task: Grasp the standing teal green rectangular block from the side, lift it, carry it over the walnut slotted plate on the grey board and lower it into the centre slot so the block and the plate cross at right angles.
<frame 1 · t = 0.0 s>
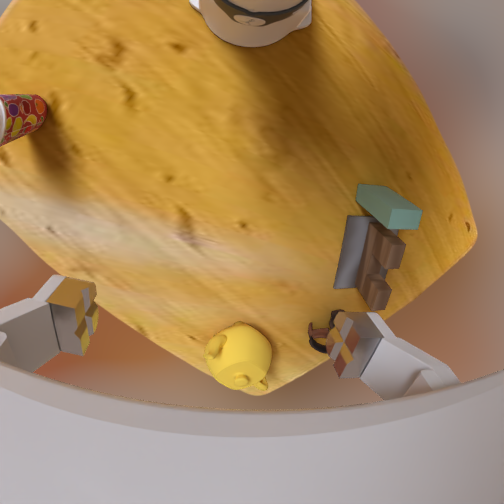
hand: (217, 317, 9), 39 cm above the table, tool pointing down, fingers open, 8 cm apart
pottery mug: (328, 319, 64), on the table
smoothie: (36, 112, 35), on the table
teapot: (234, 336, 63), on the table
teal green rectangular block: (371, 193, 49), on the table
walnut slotted plate: (367, 253, 56), on the table
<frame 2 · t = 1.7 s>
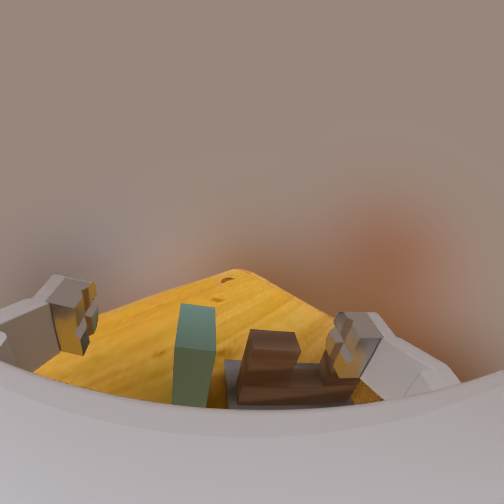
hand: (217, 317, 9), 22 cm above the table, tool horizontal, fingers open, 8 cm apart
teal green rectangular block: (187, 406, 28), on the table
walnut slotted plate: (291, 398, 32), on the table
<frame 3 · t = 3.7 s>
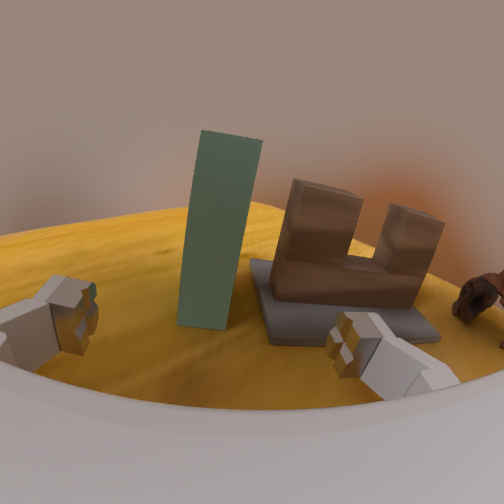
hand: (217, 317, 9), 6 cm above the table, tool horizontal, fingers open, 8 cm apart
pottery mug: (476, 328, 25), on the table
teal green rectangular block: (201, 302, 21), on the table
walnut slotted plate: (343, 303, 25), on the table
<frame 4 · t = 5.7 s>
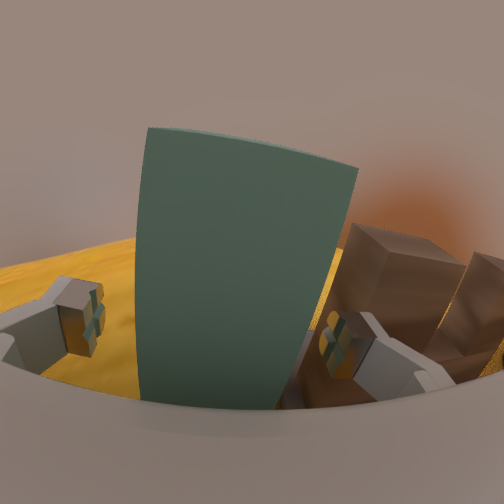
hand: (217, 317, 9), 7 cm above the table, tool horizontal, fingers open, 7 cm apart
teal green rectangular block: (193, 432, 11), on the table
walnut slotted plate: (397, 392, 15), on the table
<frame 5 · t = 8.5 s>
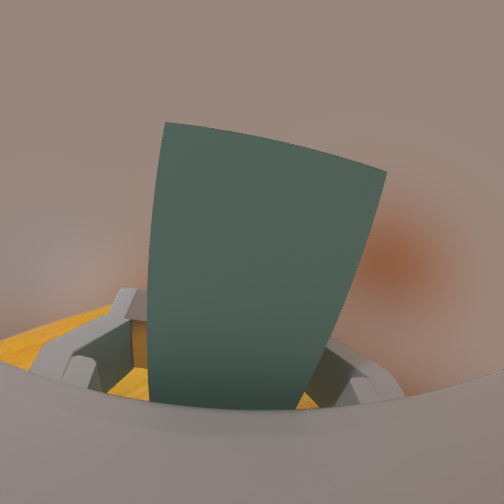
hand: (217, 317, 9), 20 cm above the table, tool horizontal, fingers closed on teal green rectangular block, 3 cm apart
teal green rectangular block: (200, 439, 11), point 13 cm above the table, touching gripper
when the fingers open (12 cm above the table, at t = 10.6 s): teal green rectangular block drops 1 cm, resting on walnut slotted plate.
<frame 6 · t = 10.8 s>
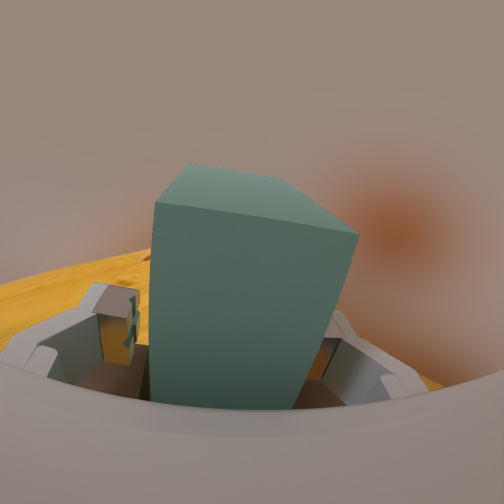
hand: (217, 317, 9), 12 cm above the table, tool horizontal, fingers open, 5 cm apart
teal green rectangular block: (199, 450, 11), point 4 cm above the table, touching walnut slotted plate
walnut slotted plate: (195, 478, 13), on the table
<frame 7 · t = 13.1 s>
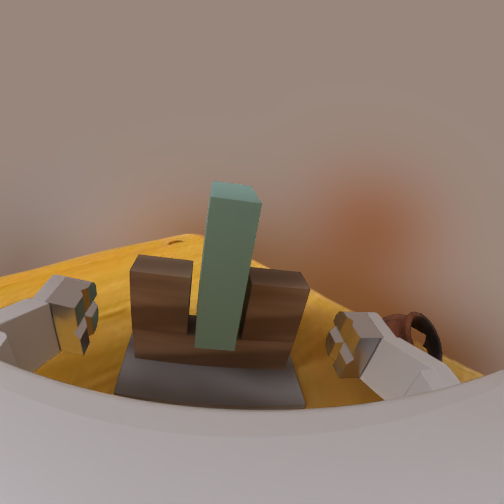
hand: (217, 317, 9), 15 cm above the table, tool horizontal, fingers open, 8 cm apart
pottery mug: (379, 370, 29), on the table
teal green rectangular block: (213, 326, 25), point 4 cm above the table, touching walnut slotted plate
walnut slotted plate: (209, 359, 27), on the table
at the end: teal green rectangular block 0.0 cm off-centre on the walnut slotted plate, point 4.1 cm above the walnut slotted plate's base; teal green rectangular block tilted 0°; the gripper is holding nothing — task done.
